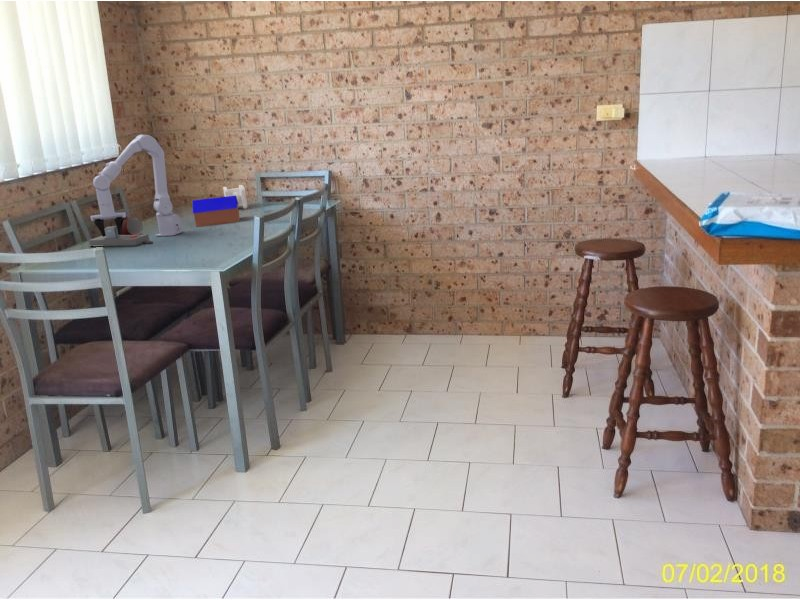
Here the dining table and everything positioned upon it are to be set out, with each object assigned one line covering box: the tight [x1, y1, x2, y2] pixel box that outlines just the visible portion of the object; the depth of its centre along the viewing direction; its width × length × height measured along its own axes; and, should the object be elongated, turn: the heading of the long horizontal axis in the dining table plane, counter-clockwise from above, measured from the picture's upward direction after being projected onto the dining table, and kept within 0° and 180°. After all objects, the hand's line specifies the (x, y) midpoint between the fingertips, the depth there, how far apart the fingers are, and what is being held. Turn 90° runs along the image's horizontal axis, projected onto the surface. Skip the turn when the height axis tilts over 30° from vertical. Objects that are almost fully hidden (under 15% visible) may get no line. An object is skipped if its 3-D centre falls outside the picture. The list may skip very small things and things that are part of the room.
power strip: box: [88, 233, 154, 248], centre depth 319 cm, size 29×9×4 cm, turn 72°
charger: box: [104, 225, 119, 239], centre depth 320 cm, size 4×4×7 cm
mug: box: [121, 217, 144, 235], centre depth 336 cm, size 10×8×10 cm
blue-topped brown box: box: [192, 196, 240, 228], centre depth 350 cm, size 12×20×12 cm, turn 99°
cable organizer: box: [222, 184, 248, 210], centre depth 384 cm, size 15×11×12 cm
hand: (112, 235), depth 320 cm, fingers open, 6 cm apart
